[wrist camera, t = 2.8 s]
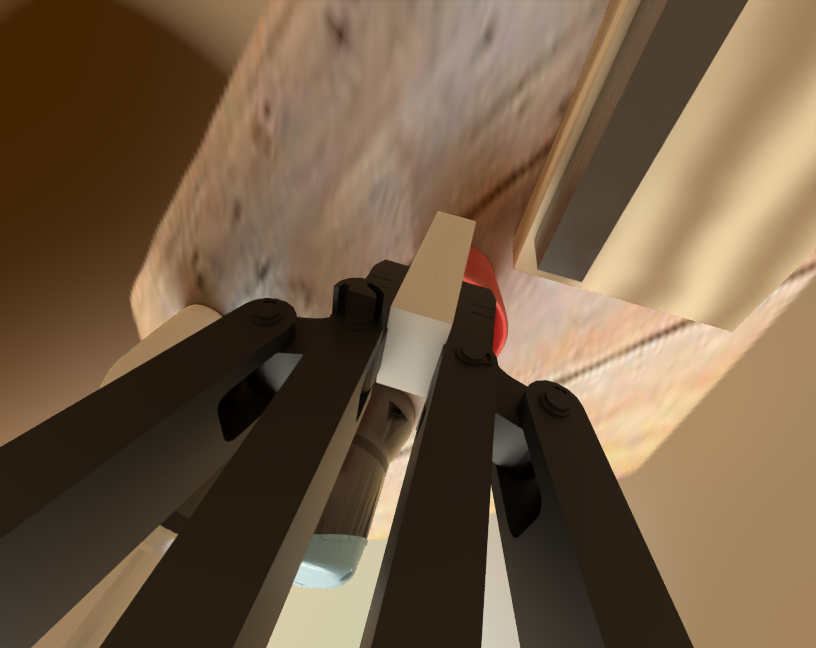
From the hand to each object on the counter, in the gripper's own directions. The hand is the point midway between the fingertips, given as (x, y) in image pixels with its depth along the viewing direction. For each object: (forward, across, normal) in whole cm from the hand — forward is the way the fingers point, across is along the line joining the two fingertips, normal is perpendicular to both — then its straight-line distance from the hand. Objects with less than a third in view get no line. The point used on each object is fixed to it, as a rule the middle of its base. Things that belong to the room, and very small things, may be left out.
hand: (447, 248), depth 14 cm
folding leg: (+14, -7, -5) cm, 17 cm away
